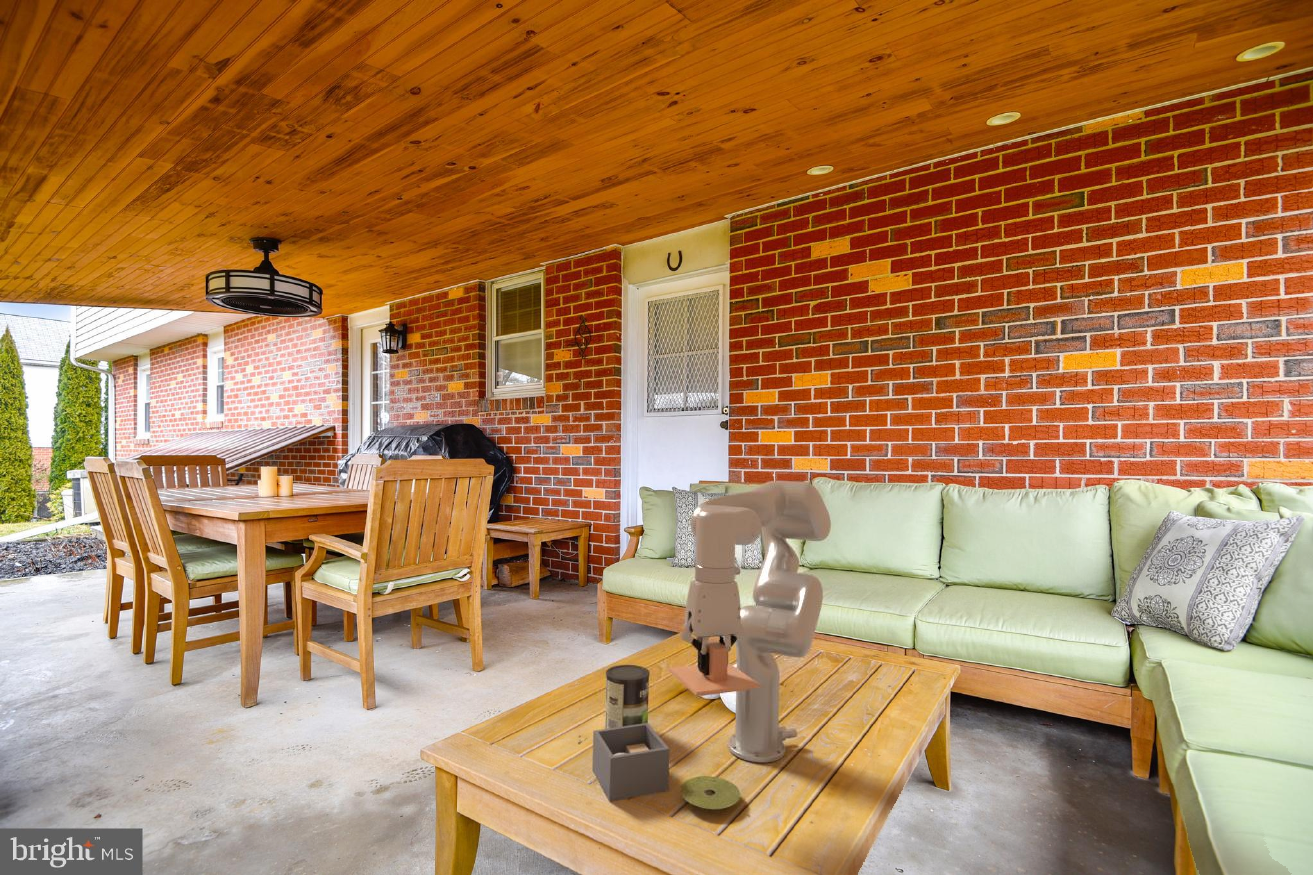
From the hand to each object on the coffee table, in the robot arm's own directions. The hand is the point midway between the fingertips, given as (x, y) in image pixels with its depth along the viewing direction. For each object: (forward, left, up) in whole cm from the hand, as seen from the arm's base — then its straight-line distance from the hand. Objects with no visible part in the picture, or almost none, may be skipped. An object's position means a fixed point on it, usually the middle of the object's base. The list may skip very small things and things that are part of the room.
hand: (712, 671), depth 115 cm
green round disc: (0, 0, -25) cm, 25 cm away
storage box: (+12, -12, -24) cm, 30 cm away
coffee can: (+6, -32, -25) cm, 41 cm away
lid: (0, 0, -1) cm, 1 cm away
